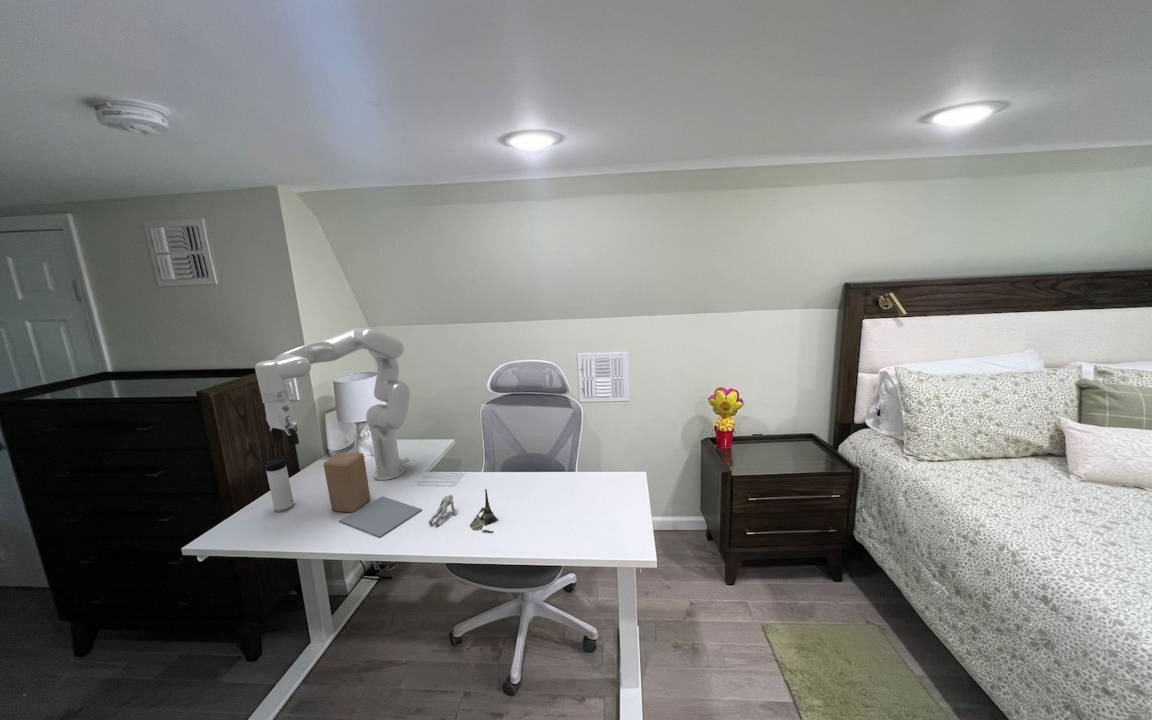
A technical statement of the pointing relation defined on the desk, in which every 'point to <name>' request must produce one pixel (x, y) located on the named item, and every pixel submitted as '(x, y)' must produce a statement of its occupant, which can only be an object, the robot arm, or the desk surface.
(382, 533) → the mat
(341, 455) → the block
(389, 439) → the robot arm
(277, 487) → the travel mug
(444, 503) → the grey humanoid figure
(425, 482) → the desk surface
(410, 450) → the desk surface
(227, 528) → the desk surface
